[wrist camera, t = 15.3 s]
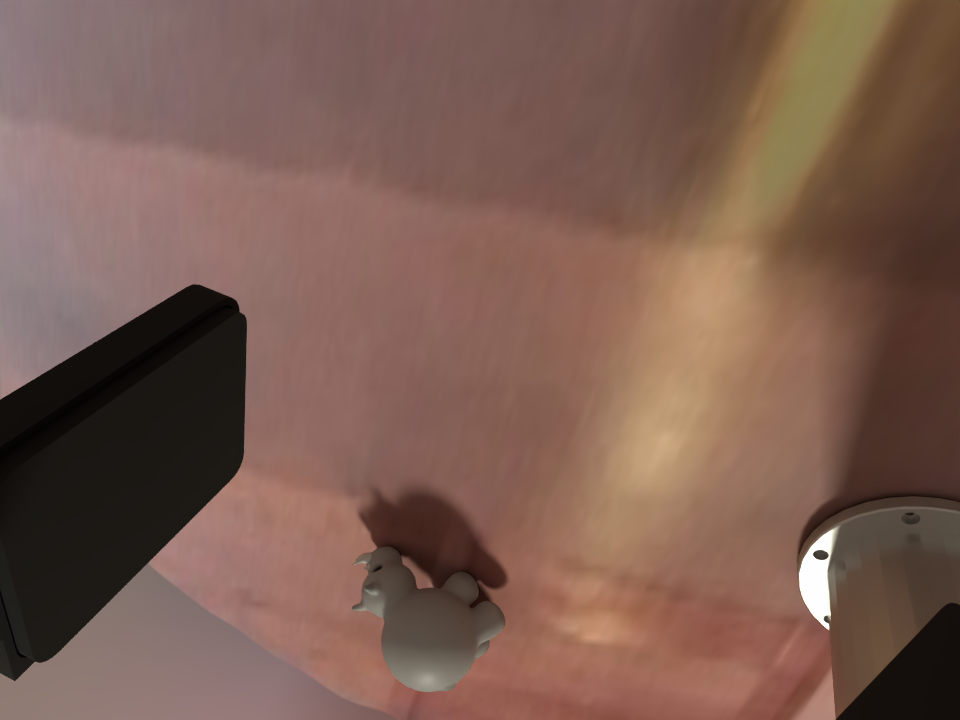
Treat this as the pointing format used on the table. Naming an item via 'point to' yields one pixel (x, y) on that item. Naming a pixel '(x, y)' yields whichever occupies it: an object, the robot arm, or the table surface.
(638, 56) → the table surface
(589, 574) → the table surface
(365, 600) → the toy rhinoceros
